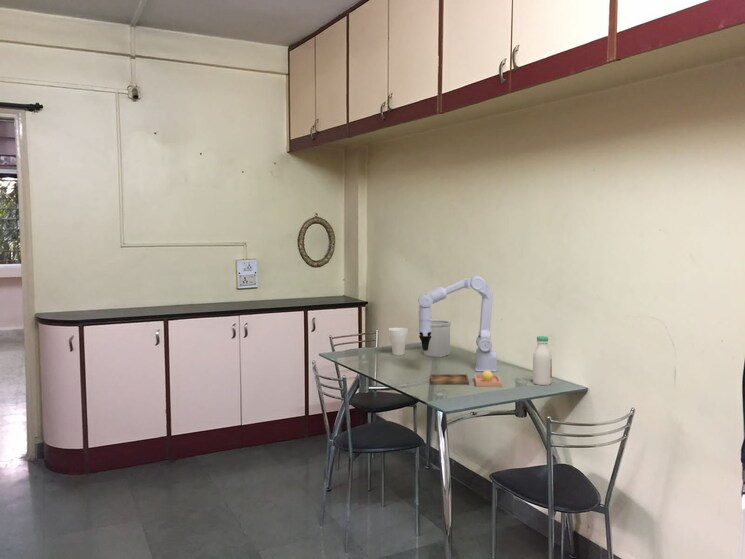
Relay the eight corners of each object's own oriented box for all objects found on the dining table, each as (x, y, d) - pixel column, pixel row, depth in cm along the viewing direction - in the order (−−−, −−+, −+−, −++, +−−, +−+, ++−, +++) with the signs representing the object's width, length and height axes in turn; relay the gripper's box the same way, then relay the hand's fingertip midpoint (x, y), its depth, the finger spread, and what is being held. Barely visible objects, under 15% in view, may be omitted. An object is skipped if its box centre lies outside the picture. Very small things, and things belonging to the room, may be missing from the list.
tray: (466, 377, 274) (466, 374, 274) (469, 384, 262) (469, 381, 262) (430, 377, 275) (430, 374, 275) (431, 384, 263) (431, 381, 263)
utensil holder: (448, 357, 315) (448, 323, 314) (419, 356, 320) (419, 323, 318) (452, 352, 330) (452, 319, 328) (425, 350, 334) (425, 318, 332)
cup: (389, 352, 332) (389, 327, 331) (409, 352, 331) (408, 327, 329) (387, 356, 322) (387, 330, 320) (407, 356, 320) (407, 330, 319)
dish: (497, 379, 270) (497, 374, 270) (501, 386, 258) (501, 382, 258) (473, 379, 271) (473, 374, 271) (476, 386, 259) (476, 381, 259)
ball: (492, 380, 267) (492, 369, 266) (493, 383, 262) (493, 371, 261) (481, 380, 267) (481, 369, 267) (482, 382, 262) (482, 371, 262)
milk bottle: (548, 386, 257) (548, 339, 256) (530, 384, 262) (530, 337, 260) (553, 382, 264) (554, 336, 262) (535, 380, 268) (536, 334, 266)
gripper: (416, 317, 295) (416, 345, 296) (416, 322, 281) (416, 352, 282) (431, 317, 295) (431, 345, 296) (431, 322, 280) (432, 352, 281)
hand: (425, 348), depth 289 cm, fingers open, 7 cm apart
